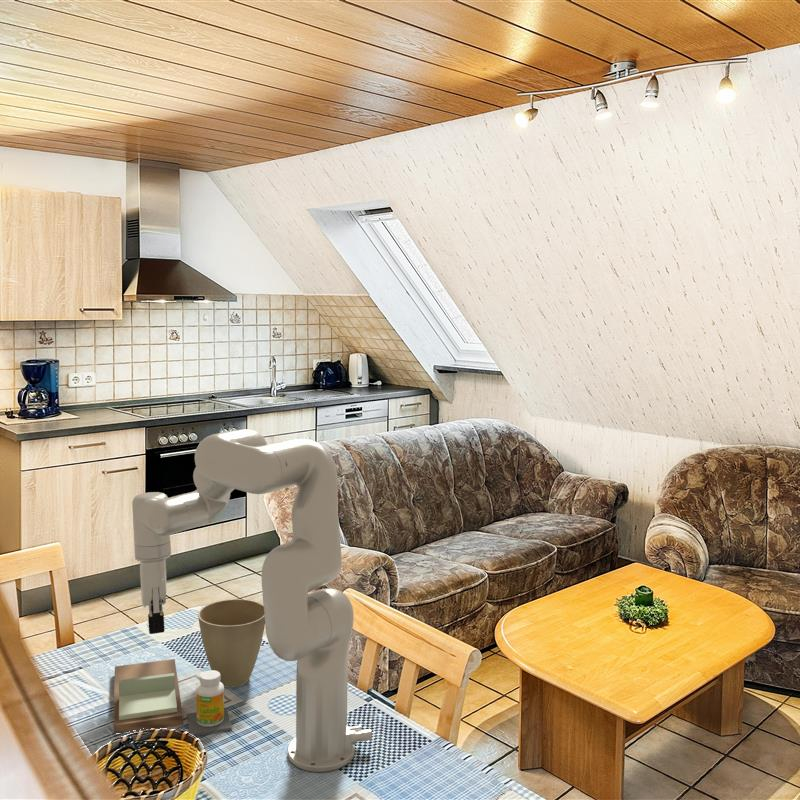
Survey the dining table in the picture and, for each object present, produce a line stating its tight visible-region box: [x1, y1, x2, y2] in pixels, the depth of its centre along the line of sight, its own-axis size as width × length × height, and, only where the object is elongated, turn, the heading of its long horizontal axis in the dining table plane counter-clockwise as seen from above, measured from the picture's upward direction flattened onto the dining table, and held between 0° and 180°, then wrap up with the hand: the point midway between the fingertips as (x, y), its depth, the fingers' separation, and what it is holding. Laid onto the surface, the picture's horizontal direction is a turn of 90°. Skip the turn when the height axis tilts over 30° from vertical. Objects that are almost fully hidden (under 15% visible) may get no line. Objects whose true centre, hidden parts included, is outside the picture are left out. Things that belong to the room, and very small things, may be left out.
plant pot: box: [197, 598, 266, 688], centre depth 176 cm, size 15×15×16 cm
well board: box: [113, 658, 184, 735], centre depth 168 cm, size 13×26×2 cm, turn 19°
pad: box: [186, 707, 233, 737], centre depth 159 cm, size 8×8×1 cm
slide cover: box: [119, 673, 177, 720], centre depth 161 cm, size 11×9×4 cm
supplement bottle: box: [195, 669, 225, 727], centre depth 158 cm, size 5×5×10 cm
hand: (156, 631), depth 173 cm, fingers closed
